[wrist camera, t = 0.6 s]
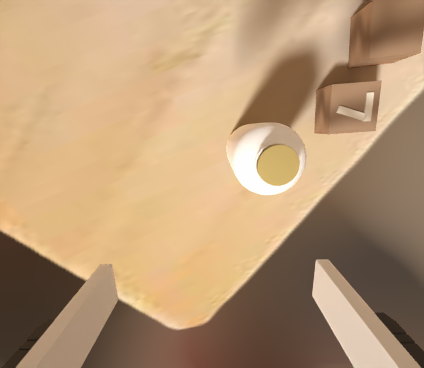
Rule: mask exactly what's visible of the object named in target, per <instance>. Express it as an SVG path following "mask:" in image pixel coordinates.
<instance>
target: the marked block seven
mask: <svg viewBox="0 0 424 368" xmlns="http://www.w3.org/2000/svg"><path fill="white" fill-rule="evenodd" d="M380 89H381V81H370V82H357V83H344V84H332V85H329V86H326V87H324V88H321V89H318V90H317V91H316V111H315V131H314V133H318V134H338V133H352V132H366V131H376V123H377V114H378V106H379V98H380Z"/></svg>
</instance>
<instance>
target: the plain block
mask: <svg viewBox="0 0 424 368" xmlns="http://www.w3.org/2000/svg"><path fill="white" fill-rule="evenodd" d="M423 31H424V0H373V1H371V2H370V3H369V4H368V5H366V6H365V7H364V8H363V9H361V10H360V11H359V12H358V13H356V14H355V15H354V16H353V17H351V28H350V46H349V64H348V68H351V67H360V66H369V65H378V64H387V63H394V62H396V61H399V60H402V59H405V58H408V57H410V56H413V55H416V54H419V53H421V46H422V38H423Z"/></svg>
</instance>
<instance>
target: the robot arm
mask: <svg viewBox="0 0 424 368" xmlns="http://www.w3.org/2000/svg"><path fill="white" fill-rule="evenodd" d="M312 296H313V298H314V299H315V301H316V303H317V305H318V306H319V308H320V310H321V311H322V313H323V315H324V317H325V318H326V320H327V322H328V323H329V325H330V327H331V329H332V330H333V332H334V334H335V336H336V337H337V339H338V341H339V342H340V344H341V346H342V348H343V349H344V351H345V353H346V354H347V356H348V358H349V359H350V361H351V363H352V365H353V367H354V368H424V351H423V350H422V349H421V348H420V347H419V346H418V345H417V344H415V342H414V341H413V339H412V338H411V337H410V336H409V335H407V334H406V332H405V331H404V330H403V329H402V328H401V327H400V326H399V324H397V322H396V321H394V320H393V319H391V318H390V317H389V316H387V315H386V314H384V313H374V312H373V311H372V310H371V309H370V308H369V306H368V305H367V304H366V303H365V302H364V301H363V299H362V298H361V297H360V296H359V295H358V294H357V292H356V291H355V290H354V289H353V288H352V287H351V285H350V284H349V283H348V282H347V281H346V280H345V278H344V277H343V276H342V275H341V274H340V273H339V271H338V270H337V269H336V268H335V267H334V266H333V264H332V263H331V262H330V261H329V260H327V259H326V260H316V265H315V275H314V285H313V294H312ZM117 301H118V295H117V290H116V284H115V278H114V272H113V267H112V264H103V265H100V266H99V267H98V268H97V269H96V270H95V272H94V273H93V274H92V275H91V277H90V278H89V279H88V280H87V281H86V283H85V284H84V285H83V286H82V288H81V289H80V290H79V291H78V292H77V294H76V295H75V296H74V297H73V298H72V300H71V301H70V302H69V303H68V305H67V306H66V307H65V308H64V309H63V311H62V312H61V313H60V314H59V315H58V317H57V318H56V319H49V320H47V321H46V322H45V323H43V324H42V325H40V326H39V327H38V328H37V329H36V330H35V331H34V332H33V333H32V334H31V335H30V336H29V337H28V339H27V341H26V342H24V343H23V345H21V347H20V348H19V350H18V351H16V352H15V354H14V355H13V356H12V357H11V358H10V359H9V360H8V361H7V363H6V364H5V365H4V366H3V367H2V368H81V366H82V364H83V362H84V360H85V358H86V357H87V355H88V353H89V351H90V350H91V348H92V346H93V344H94V342H95V340H96V339H97V337H98V335H99V333H100V331H101V330H102V328H103V326H104V324H105V322H106V321H107V319H108V317H109V315H110V313H111V312H112V310H113V308H114V306H115V304H116V303H117Z"/></svg>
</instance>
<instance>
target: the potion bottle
mask: <svg viewBox="0 0 424 368" xmlns="http://www.w3.org/2000/svg"><path fill="white" fill-rule="evenodd" d="M226 153H227V156H228V160H229V162H230V164H231V166H232V169H233V171H234V173H235V175H236V177H237V178H238V180H239V181H240V183H241V184H242V185H243V186H244V187H246V188H247V189H248V190H250V191H252V192H255V193H258V194H261V195H274V194H277V193H281V192H284V191H285V190H287V189H288V188H290V187H292V186H293V185H294V184H295V183H296V182H297V180H298V179H299V178H300V177H301V175H302V172H303V170H304V168H305V164H306V156H307V155H306V150H305V145H304V143H303V141H302V140H301V138H300V136H299V135H298V134H297V133H296V132H295V131H293V130H292V129H291V128H290V127H289V126H286V125H283V124H280V123H269V122H265V123H255V124H247V125H244V126H240V127H239V128H237V129H236V130H235V131H234V132H233V133H232V134H231V136H230V137H229V139H228V142H227V146H226Z"/></svg>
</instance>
